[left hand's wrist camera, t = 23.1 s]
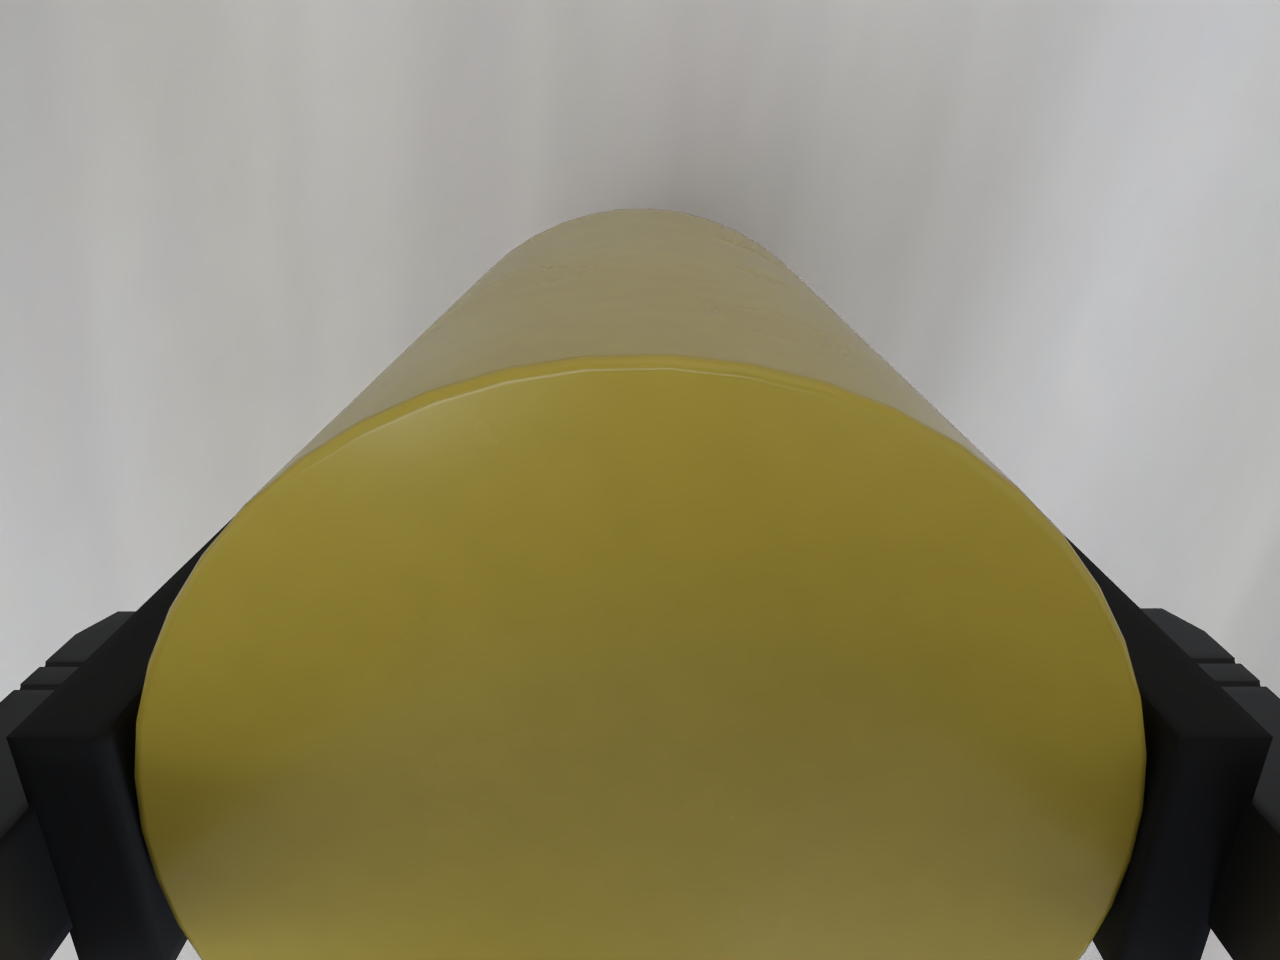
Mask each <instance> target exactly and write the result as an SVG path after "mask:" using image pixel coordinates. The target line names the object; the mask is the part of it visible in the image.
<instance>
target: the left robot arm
mask: <svg viewBox="0 0 1280 960" xmlns="http://www.w3.org/2000/svg"><path fill="white" fill-rule="evenodd" d="M233 518H234V517H233ZM233 518H232V519H233ZM232 519H231V520H232ZM231 520H230V521H231ZM230 521H229V522H230ZM229 522H228V523H227V524H226V525H225V526H224V527H223V528H222V529H221V530H220V531H219V532H218V533H217V534H216V535H215V536H214V537H213V538H212V539H211V540H210V541H209V542H208V543H207V544H206V545H205V546H203V547H202V548H201V549H200V550H199V551H198V552H197V553H196V554H195V555H194V556H193V557H192V558H191V559H190V560H189V561H188V562H187V563H186V564H185V565H184V566H183V567H182V568H181V569H180V570H179V571H178V572H177V573H176V574H174V575H173V576H172V577H171V578H170V579H169V580H168V581H167V582H166V583H165V584H164V585H163V586H162V587H161V588H160V589H159V590H158V591H157V592H156V593H155V594H154V595H153V596H152V597H151V598H150V599H149V600H148V601H147V602H146V603H144V604H143V605H142V606H141V607H140V608H139V609H138V610H137V611H136V612H116V613H115V614H113V615H111V616H109V617H107V618H105V619H103V620H102V621H100V622H98V623H96V624H94V625H92V626H90V627H89V628H87V629H85V630H83V631H81V632H79V633H78V634H76V635H74V636H73V637H72V638H71V639H70V640H69V641H68V642H67V643H66V644H65V645H63V646H62V647H61V648H60V649H59V650H58V651H57V652H56V653H55V654H53V655H52V656H51V657H50V658H49V659H48V660H47V661H46V665H45V667H39V668H38V669H37V670H36V671H35V672H34V673H32V674H31V675H30V676H29V677H28V678H27V679H26V680H25V681H24V682H22V683H21V687H20V690H14V691H12V692H11V693H10V694H9V695H8V696H7V697H6V698H5V699H4V700H3V701H1V702H0V960H50V959H51V957H52V956H53V954H54V953H55V952H56V950H57V949H58V947H59V946H60V944H61V943H62V942H63V940H64V939H65V937H66V936H67V935H68V933H69V932H70V934H71V937H72V940H73V943H74V946H75V949H76V952H77V955H78V959H79V960H176V959H177V957H178V955H179V953H180V951H181V950H182V948H183V946H184V944H185V942H186V941H187V937H186V936H185V934H184V933H183V931H182V930H181V928H180V926H179V925H178V923H177V921H176V919H175V917H174V914H173V912H172V910H171V908H170V906H169V904H168V902H167V900H166V898H165V896H164V893H163V891H162V889H161V887H160V885H159V883H158V881H157V879H156V876H155V872H154V869H153V866H152V862H151V859H150V856H149V853H148V849H147V846H146V843H145V839H144V836H143V833H142V829H141V823H140V815H139V808H138V800H137V793H136V785H135V778H134V773H135V744H136V721H137V715H138V710H139V705H140V700H141V696H142V691H143V686H144V681H145V676H146V672H147V667H148V662H149V659H150V657H151V654H152V652H153V649H154V647H155V644H156V642H157V639H158V637H159V634H160V632H161V629H162V626H163V624H164V621H165V619H166V616H167V614H168V611H169V609H170V607H171V605H172V603H173V602H174V600H175V598H176V597H177V595H178V593H179V592H180V590H181V588H182V587H183V585H184V584H185V582H186V580H187V579H188V577H189V575H190V574H191V572H192V570H193V569H194V567H195V565H196V564H197V562H198V560H199V559H200V557H201V555H202V554H203V553H204V552H205V551H206V549H207V548H208V547H209V546H210V545H211V544H212V542H213V541H214V540H215V539H216V538H217V536H218V535H219V534H220V533H221V532H222V531H223V529H224V528H225V527H226V526H227V525H228V524H229ZM1065 537H1066V536H1065ZM1066 539H1067V540H1068V542H1069V543H1070V545H1071V546H1072V547H1073V549H1074V550H1075V552H1076V553H1077V555H1078V556H1079V557H1080V559H1081V560H1082V562H1083V563H1084V565H1085V566H1086V568H1087V569H1088V570H1089V572H1090V573H1091V575H1092V576H1093V578H1094V579H1095V580H1096V582H1097V583H1098V585H1099V586H1100V588H1101V590H1102V592H1103V595H1104V597H1105V599H1106V601H1107V603H1108V605H1109V607H1110V609H1111V612H1112V614H1113V616H1114V618H1115V620H1116V622H1117V624H1118V626H1119V628H1120V631H1121V633H1122V635H1123V637H1124V639H1125V642H1126V645H1127V649H1128V652H1129V656H1130V660H1131V663H1132V667H1133V670H1134V674H1135V678H1136V681H1137V685H1138V688H1139V692H1140V696H1141V703H1142V713H1143V723H1144V733H1145V744H1146V754H1147V759H1146V773H1145V787H1144V802H1143V811H1142V815H1141V819H1140V823H1139V828H1138V832H1137V836H1136V840H1135V844H1134V849H1133V853H1132V857H1131V860H1130V863H1129V865H1128V868H1127V870H1126V873H1125V875H1124V878H1123V880H1122V883H1121V885H1120V887H1119V890H1118V892H1117V895H1116V897H1115V900H1114V902H1113V905H1112V907H1111V909H1110V910H1109V912H1108V914H1107V916H1106V917H1105V919H1104V921H1103V922H1102V924H1101V926H1100V927H1099V929H1098V931H1097V932H1096V934H1095V936H1094V938H1093V939H1092V940H1093V942H1094V944H1095V945H1096V947H1097V949H1098V951H1099V953H1100V954H1101V956H1102V958H1103V960H1200V959H1201V956H1202V953H1203V950H1204V947H1205V944H1206V941H1207V938H1208V935H1209V932H1210V929H1212V931H1213V932H1214V933H1215V935H1216V936H1217V938H1218V939H1219V940H1220V942H1221V943H1222V945H1223V946H1224V947H1225V949H1226V950H1227V952H1228V953H1229V955H1230V956H1231V957H1232V959H1233V960H1280V699H1279V698H1278V697H1277V696H1276V695H1275V694H1274V693H1273V692H1272V691H1271V690H1269V689H1268V688H1267V687H1261V686H1260V681H1259V680H1258V679H1257V678H1256V677H1255V676H1254V675H1253V674H1252V673H1250V672H1249V671H1248V670H1247V669H1246V668H1245V667H1244V666H1243V665H1242V664H1235V661H1234V660H1235V658H1234V657H1233V656H1232V655H1230V654H1229V653H1228V652H1227V651H1226V650H1225V649H1224V648H1223V647H1221V646H1220V645H1219V644H1218V643H1217V642H1216V641H1215V640H1214V639H1213V638H1211V637H1210V636H1209V635H1208V634H1207V633H1206V632H1205V631H1203V630H1201V629H1199V628H1197V627H1195V626H1194V625H1192V624H1190V623H1188V622H1186V621H1184V620H1182V619H1181V618H1179V617H1177V616H1175V615H1173V614H1171V613H1169V612H1167V611H1166V610H1164V609H1140V608H1139V607H1138V606H1137V605H1136V604H1135V603H1134V602H1133V601H1132V600H1131V599H1130V598H1129V597H1128V596H1127V595H1126V594H1124V593H1123V592H1122V591H1121V590H1120V589H1119V588H1118V587H1117V586H1116V585H1115V584H1114V583H1113V582H1112V581H1111V580H1110V579H1109V578H1108V577H1107V576H1106V575H1105V574H1104V573H1103V572H1102V571H1101V570H1100V569H1099V568H1098V567H1097V566H1096V565H1094V564H1093V563H1092V562H1091V561H1090V560H1089V559H1088V558H1087V557H1086V556H1085V555H1084V554H1083V553H1082V552H1081V551H1080V550H1079V549H1078V548H1077V547H1076V546H1075V545H1074V544H1073V543H1072V542H1071V541H1070V540H1069V539H1068V538H1067V537H1066Z"/></svg>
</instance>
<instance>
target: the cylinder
mask: <svg viewBox="0 0 1280 960" xmlns="http://www.w3.org/2000/svg"><path fill="white" fill-rule="evenodd" d="M1146 759H1147V754H1146V744H1145V733H1144V723H1143V713H1142V703H1141V696H1140V692H1139V688H1138V685H1137V681H1136V678H1135V674H1134V670H1133V667H1132V663H1131V660H1130V656H1129V652H1128V649H1127V645H1126V642H1125V639H1124V637H1123V635H1122V633H1121V631H1120V628H1119V626H1118V624H1117V622H1116V620H1115V618H1114V616H1113V614H1112V612H1111V609H1110V607H1109V605H1108V603H1107V601H1106V599H1105V597H1104V595H1103V592H1102V590H1101V588H1100V586H1099V585H1098V583H1097V582H1096V580H1095V579H1094V578H1093V576H1092V575H1091V573H1090V572H1089V570H1088V569H1087V568H1086V566H1085V565H1084V563H1083V562H1082V560H1081V559H1080V557H1079V556H1078V555H1077V553H1076V552H1075V550H1074V549H1073V547H1072V546H1071V545H1070V543H1069V542H1068V540H1067V539H1066V537H1065V536H1064V535H1063V534H1062V532H1061V531H1060V530H1059V529H1058V528H1057V527H1056V526H1055V525H1054V524H1053V523H1052V522H1051V521H1050V520H1049V519H1048V518H1047V517H1046V516H1045V515H1044V514H1043V513H1042V512H1041V511H1040V510H1039V509H1038V508H1037V507H1036V506H1035V504H1034V503H1033V502H1032V501H1031V500H1030V499H1029V498H1028V497H1027V496H1026V495H1025V494H1024V493H1023V492H1022V491H1021V490H1020V489H1019V488H1018V487H1017V486H1016V485H1015V484H1014V483H1013V482H1012V481H1011V480H1010V479H1009V478H1008V477H1007V476H1006V475H1005V474H1003V473H1002V472H1001V471H1000V470H999V469H998V468H997V467H996V466H995V465H994V464H993V463H992V462H991V461H990V460H989V459H988V458H987V457H986V456H985V455H984V454H983V453H982V452H980V451H979V450H978V449H977V448H976V447H975V446H974V445H973V444H972V443H971V442H970V441H969V440H968V439H967V438H966V437H965V436H964V435H963V434H962V433H961V432H960V431H958V430H957V429H956V428H955V427H954V426H953V425H952V424H951V423H950V422H949V421H948V420H947V419H946V418H945V417H944V416H943V415H942V414H941V413H940V412H939V411H938V410H936V409H935V408H934V407H933V406H932V405H931V404H930V403H929V402H928V401H927V400H926V399H925V398H924V397H923V396H922V395H921V394H920V393H919V392H918V391H917V390H916V389H914V388H913V387H912V386H911V385H910V384H909V383H908V382H907V381H906V380H905V379H904V378H903V377H902V376H901V375H900V374H899V373H898V372H897V371H896V370H895V369H894V368H892V367H891V366H890V365H889V364H888V363H887V362H886V361H885V360H884V359H883V358H882V357H881V356H880V355H879V354H878V353H877V352H876V351H875V350H874V349H873V348H872V347H870V346H869V345H868V344H867V343H866V342H865V341H864V340H863V339H862V338H861V337H860V336H859V335H858V334H857V333H856V332H855V331H854V330H853V329H852V328H851V327H850V326H848V325H847V324H846V323H845V322H844V321H843V320H842V319H841V318H840V317H839V316H838V315H837V314H836V313H835V312H834V311H833V310H832V309H831V308H830V307H829V306H828V305H826V304H825V303H824V302H823V301H822V300H821V299H820V298H819V297H818V296H817V295H816V294H815V293H814V292H813V291H812V290H811V289H810V288H809V287H808V286H807V285H806V284H805V283H803V282H802V281H801V280H800V279H799V278H798V277H797V276H796V275H795V274H794V273H793V272H792V271H791V270H790V269H789V268H788V267H787V266H786V265H785V264H784V263H783V262H781V261H780V260H779V259H777V258H776V257H775V256H773V255H772V254H771V253H770V252H768V251H767V250H766V249H764V248H763V247H762V246H761V245H759V244H757V243H756V242H754V241H752V240H750V239H749V238H747V237H745V236H743V235H742V234H740V233H738V232H737V231H735V230H732V229H730V228H727V227H725V226H722V225H720V224H718V223H715V222H713V221H710V220H708V219H704V218H700V217H696V216H692V215H688V214H684V213H680V212H673V211H664V210H655V209H625V210H614V211H608V212H602V213H596V214H590V215H587V216H583V217H580V218H577V219H574V220H570V221H567V222H564V223H561V224H559V225H557V226H555V227H552V228H550V229H548V230H546V231H544V232H542V233H540V234H538V235H535V236H534V237H532V238H531V239H529V240H528V241H526V242H525V243H523V244H521V245H520V246H518V247H517V248H515V249H514V250H512V251H511V252H510V253H508V254H507V255H506V256H505V257H504V258H503V259H501V260H500V261H499V262H498V263H497V264H496V265H495V266H493V267H492V268H491V269H490V270H489V271H488V272H487V273H486V274H485V275H484V276H483V277H481V278H480V279H479V280H478V281H477V282H476V283H475V284H474V285H473V286H472V287H471V288H470V289H469V290H468V291H467V292H466V293H465V294H464V295H463V296H462V297H461V298H460V299H459V300H458V301H456V302H455V303H454V304H453V305H452V306H451V307H450V308H449V309H448V310H447V311H446V312H445V313H444V314H443V315H442V316H441V317H440V318H439V319H438V320H437V321H436V322H435V323H434V324H433V325H431V326H430V327H429V328H428V329H427V330H426V331H425V332H424V333H423V334H422V335H421V336H420V337H419V338H418V339H417V340H416V341H415V342H414V343H413V344H412V345H411V346H410V347H409V348H407V349H406V350H405V351H404V352H403V353H402V354H401V355H400V356H399V357H398V358H397V359H396V360H395V361H394V362H393V363H392V364H391V365H390V366H389V367H388V368H387V369H386V370H385V371H384V372H382V373H381V374H380V375H379V376H378V377H377V378H376V379H375V380H374V381H373V382H372V383H371V384H370V385H369V386H368V387H367V388H366V389H365V390H364V391H363V392H362V393H361V394H360V395H359V396H357V397H356V398H355V399H354V400H353V401H352V402H351V403H350V404H349V405H348V406H347V407H346V408H345V409H344V410H343V411H342V412H341V413H340V414H339V415H338V416H337V417H336V418H335V419H333V420H332V421H331V422H330V423H329V424H328V425H327V426H326V427H325V428H324V429H323V430H322V431H321V432H320V433H319V434H318V435H317V436H316V437H315V438H314V439H313V440H312V441H311V442H310V443H308V444H307V445H306V446H305V447H304V448H303V449H302V450H301V451H300V452H299V453H298V454H297V455H296V456H295V457H294V458H293V459H292V460H291V461H290V462H289V463H288V464H287V465H286V466H285V467H283V468H282V469H281V470H280V471H279V472H278V473H277V474H276V475H275V476H274V477H273V478H272V479H271V480H270V481H269V482H268V483H267V484H266V485H265V486H264V487H263V488H262V489H261V490H260V491H258V492H257V493H256V494H255V495H254V496H253V497H252V498H251V499H250V500H249V501H248V502H247V503H246V504H245V505H244V506H243V507H242V508H241V510H240V511H239V512H238V513H237V514H236V515H235V517H234V518H233V519H232V520H231V521H230V522H229V524H228V525H227V526H226V527H225V528H224V529H223V531H222V532H221V533H220V534H219V535H218V536H217V538H216V539H215V540H214V541H213V542H212V544H211V545H210V546H209V547H208V548H207V549H206V551H205V552H204V553H203V554H202V555H201V557H200V559H199V560H198V562H197V564H196V565H195V567H194V569H193V570H192V572H191V574H190V575H189V577H188V579H187V580H186V582H185V584H184V585H183V587H182V588H181V590H180V592H179V593H178V595H177V597H176V598H175V600H174V602H173V603H172V605H171V607H170V609H169V611H168V614H167V616H166V619H165V621H164V624H163V626H162V629H161V632H160V634H159V637H158V639H157V642H156V644H155V647H154V649H153V652H152V654H151V657H150V659H149V662H148V667H147V672H146V676H145V681H144V686H143V691H142V696H141V700H140V705H139V710H138V715H137V721H136V744H135V773H134V778H135V785H136V793H137V800H138V808H139V815H140V823H141V829H142V833H143V836H144V839H145V843H146V846H147V849H148V853H149V856H150V859H151V862H152V866H153V869H154V872H155V876H156V879H157V881H158V883H159V885H160V887H161V889H162V891H163V893H164V896H165V898H166V900H167V902H168V904H169V906H170V908H171V910H172V912H173V914H174V917H175V919H176V921H177V923H178V925H179V926H180V928H181V930H182V931H183V933H184V934H185V936H186V937H187V939H188V940H189V942H190V943H191V945H192V946H193V948H194V949H195V951H196V952H197V954H198V955H199V957H200V958H201V960H1079V959H1080V958H1081V956H1082V955H1083V954H1084V952H1085V951H1086V949H1087V948H1088V946H1089V944H1090V943H1091V941H1092V939H1093V938H1094V936H1095V934H1096V932H1097V931H1098V929H1099V927H1100V926H1101V924H1102V922H1103V921H1104V919H1105V917H1106V916H1107V914H1108V912H1109V910H1110V909H1111V907H1112V905H1113V902H1114V900H1115V897H1116V895H1117V892H1118V890H1119V887H1120V885H1121V883H1122V880H1123V878H1124V875H1125V873H1126V870H1127V868H1128V865H1129V863H1130V860H1131V857H1132V853H1133V849H1134V844H1135V840H1136V836H1137V832H1138V828H1139V823H1140V819H1141V815H1142V811H1143V802H1144V787H1145V773H1146Z"/></svg>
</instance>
